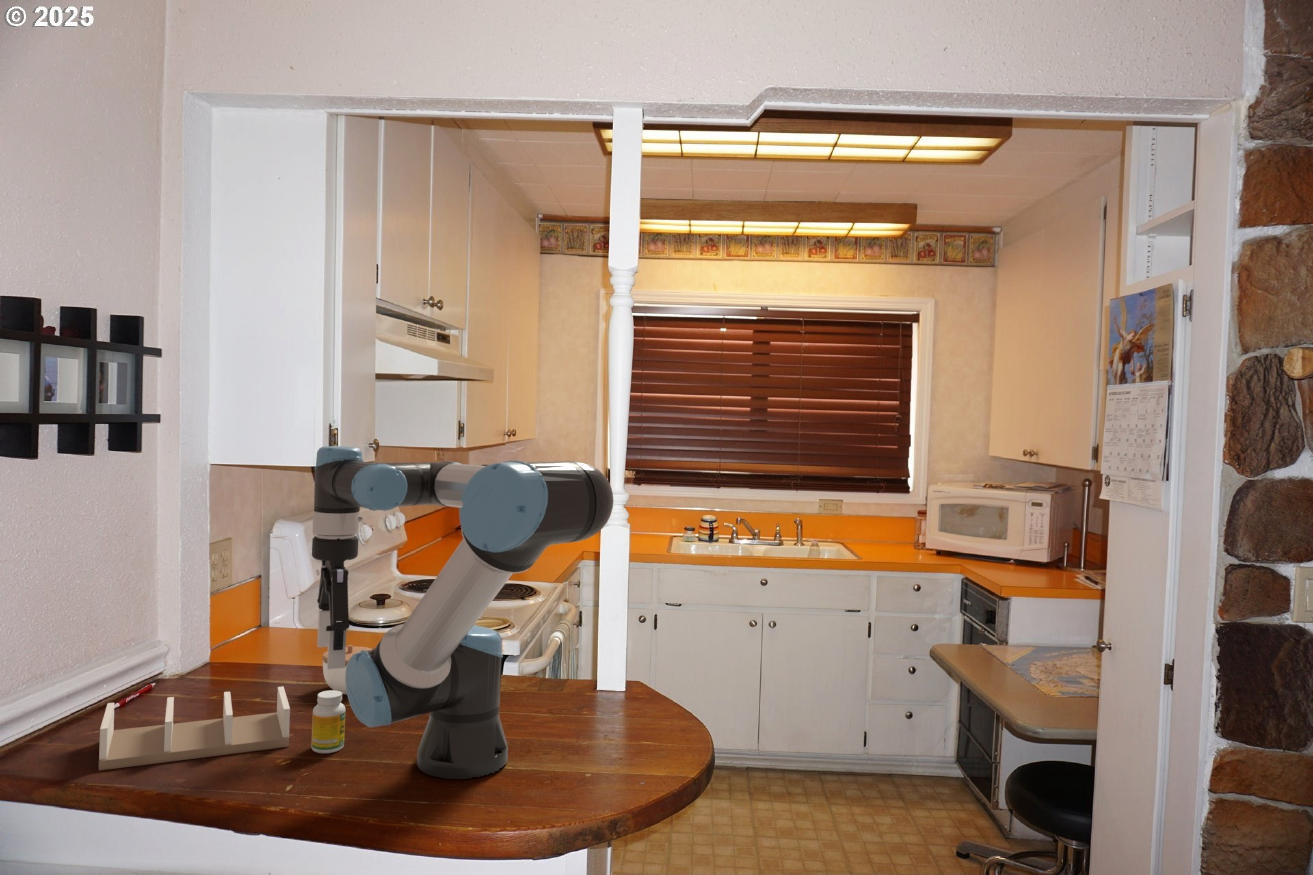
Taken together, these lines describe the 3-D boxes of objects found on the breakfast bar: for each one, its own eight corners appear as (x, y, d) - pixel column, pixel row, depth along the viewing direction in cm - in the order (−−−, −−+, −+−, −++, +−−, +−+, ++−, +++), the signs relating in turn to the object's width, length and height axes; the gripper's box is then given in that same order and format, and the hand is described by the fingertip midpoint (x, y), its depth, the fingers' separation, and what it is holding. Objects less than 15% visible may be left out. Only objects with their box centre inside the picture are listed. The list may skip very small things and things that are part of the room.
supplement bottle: (311, 743, 153) (313, 689, 152) (344, 741, 154) (346, 687, 154) (310, 755, 148) (312, 699, 147) (344, 752, 149) (346, 697, 149)
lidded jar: (348, 701, 175) (350, 655, 175) (309, 691, 180) (311, 647, 179) (386, 687, 185) (387, 643, 185) (348, 678, 189) (349, 636, 189)
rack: (288, 746, 151) (290, 709, 151) (98, 770, 138) (99, 729, 138) (282, 719, 163) (283, 685, 163) (106, 739, 150) (107, 702, 150)
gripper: (370, 546, 141) (365, 675, 142) (347, 524, 163) (342, 636, 164) (321, 547, 137) (316, 680, 138) (304, 525, 159) (299, 639, 160)
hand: (330, 656), depth 151 cm, fingers open, 13 cm apart
